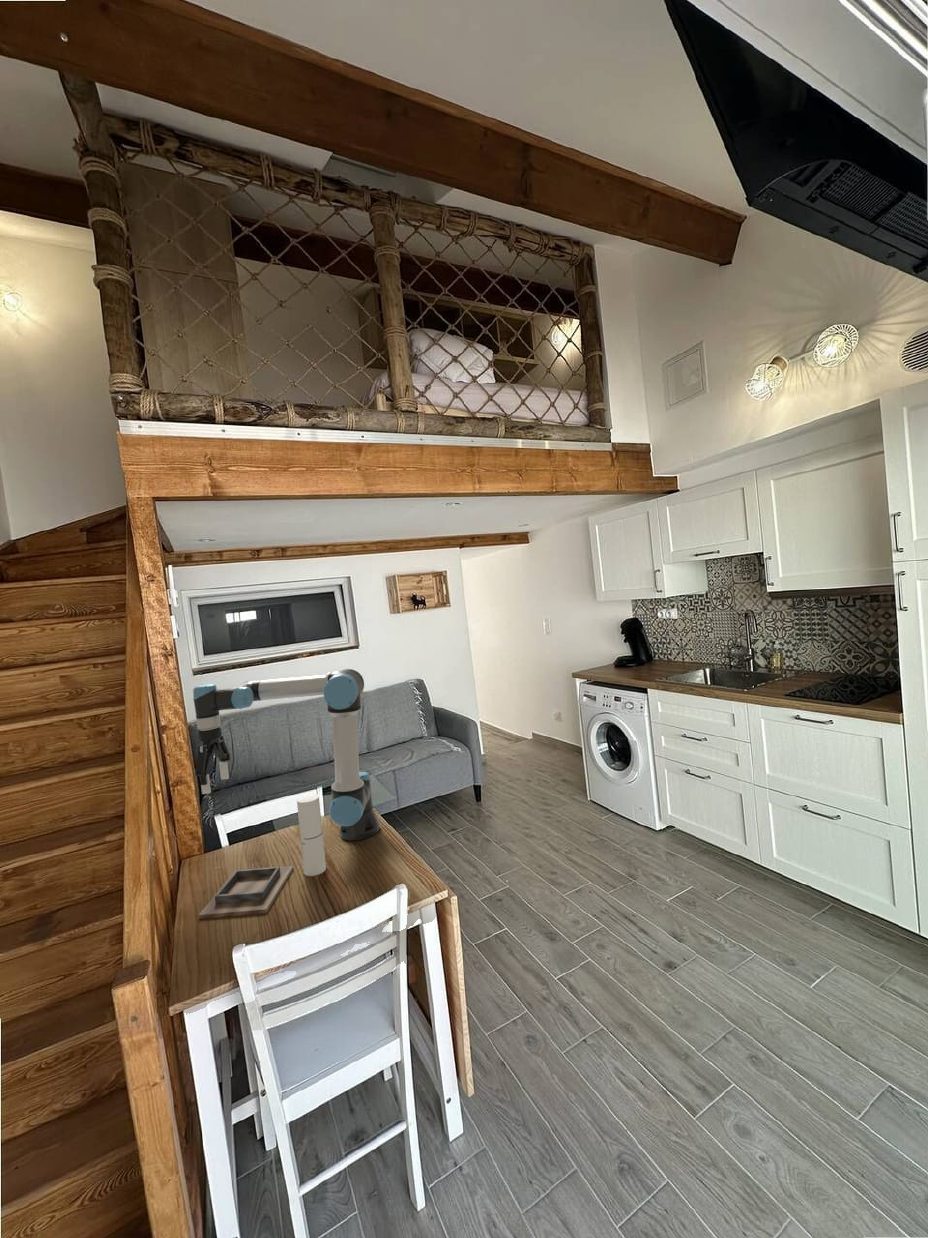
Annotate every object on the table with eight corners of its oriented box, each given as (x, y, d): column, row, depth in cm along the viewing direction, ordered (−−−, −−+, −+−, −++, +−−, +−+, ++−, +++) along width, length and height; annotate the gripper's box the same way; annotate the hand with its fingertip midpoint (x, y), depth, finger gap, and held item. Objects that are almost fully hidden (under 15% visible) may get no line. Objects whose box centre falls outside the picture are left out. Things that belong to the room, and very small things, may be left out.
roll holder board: (293, 869, 172) (292, 858, 172) (266, 913, 149) (265, 901, 148) (235, 874, 172) (234, 863, 172) (199, 919, 148) (197, 906, 148)
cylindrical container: (319, 876, 166) (312, 802, 165) (300, 875, 168) (292, 802, 167) (329, 864, 173) (322, 793, 172) (310, 864, 175) (303, 793, 174)
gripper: (215, 720, 192) (222, 774, 193) (179, 738, 168) (186, 801, 169) (235, 718, 192) (241, 772, 193) (201, 736, 168) (209, 799, 169)
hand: (216, 786), depth 181 cm, fingers open, 13 cm apart
